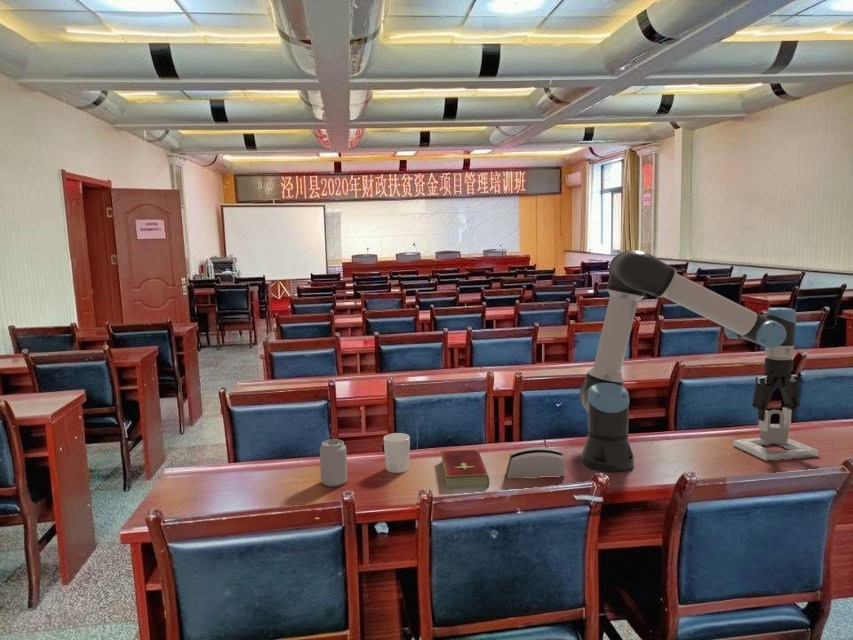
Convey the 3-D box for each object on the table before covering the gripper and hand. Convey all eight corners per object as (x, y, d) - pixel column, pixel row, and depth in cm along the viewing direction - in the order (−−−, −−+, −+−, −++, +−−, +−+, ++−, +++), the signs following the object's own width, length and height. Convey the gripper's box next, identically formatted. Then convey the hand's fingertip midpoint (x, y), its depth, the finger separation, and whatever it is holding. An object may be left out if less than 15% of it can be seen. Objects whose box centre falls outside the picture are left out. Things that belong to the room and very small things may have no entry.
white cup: (387, 475, 169) (386, 442, 167) (382, 466, 176) (381, 434, 175) (413, 472, 171) (412, 439, 169) (407, 463, 178) (406, 431, 177)
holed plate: (765, 461, 172) (766, 454, 172) (733, 446, 186) (733, 440, 186) (817, 456, 175) (818, 449, 175) (782, 441, 189) (782, 435, 189)
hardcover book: (479, 461, 179) (478, 448, 179) (489, 488, 159) (489, 474, 158) (440, 462, 179) (440, 449, 178) (446, 490, 158) (445, 475, 158)
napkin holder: (561, 470, 169) (564, 443, 165) (565, 481, 165) (568, 454, 160) (504, 472, 169) (506, 445, 164) (507, 483, 164) (509, 456, 160)
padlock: (766, 443, 178) (767, 411, 177) (758, 438, 182) (760, 408, 181) (789, 442, 178) (791, 411, 177) (781, 438, 182) (783, 408, 181)
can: (348, 477, 168) (347, 437, 167) (346, 487, 161) (344, 446, 159) (323, 478, 168) (321, 438, 166) (319, 488, 160) (317, 447, 159)
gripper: (758, 361, 172) (754, 435, 175) (817, 358, 175) (812, 431, 178) (740, 357, 179) (737, 428, 182) (797, 354, 183) (793, 423, 185)
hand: (774, 429), depth 180 cm, fingers closed on padlock, 7 cm apart
